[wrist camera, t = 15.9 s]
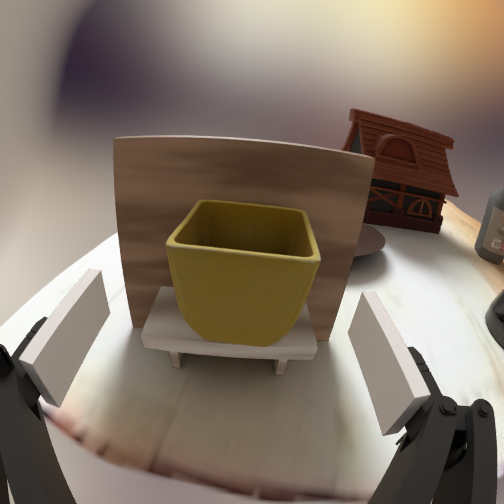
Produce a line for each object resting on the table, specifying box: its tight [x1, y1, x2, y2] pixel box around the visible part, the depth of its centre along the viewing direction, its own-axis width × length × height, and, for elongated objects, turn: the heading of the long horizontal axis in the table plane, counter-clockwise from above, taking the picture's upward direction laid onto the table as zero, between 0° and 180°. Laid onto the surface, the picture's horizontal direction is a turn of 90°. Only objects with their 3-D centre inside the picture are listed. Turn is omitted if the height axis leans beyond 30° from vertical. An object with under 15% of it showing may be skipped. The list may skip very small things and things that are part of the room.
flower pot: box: [166, 200, 321, 347], centre depth 21 cm, size 9×9×9 cm
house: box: [341, 108, 459, 234], centre depth 72 cm, size 35×28×29 cm
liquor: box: [475, 183, 504, 264], centre depth 53 cm, size 9×9×30 cm
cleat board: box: [113, 135, 375, 375], centre depth 26 cm, size 15×22×20 cm
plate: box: [354, 223, 385, 256], centre depth 56 cm, size 28×28×4 cm
